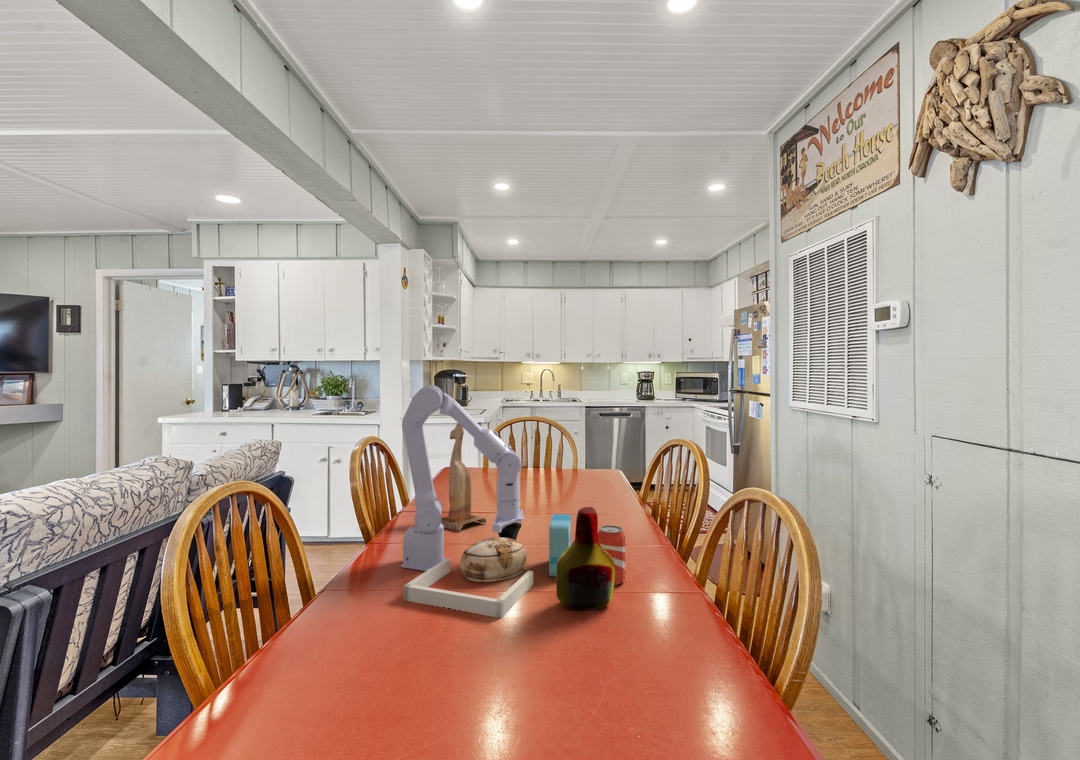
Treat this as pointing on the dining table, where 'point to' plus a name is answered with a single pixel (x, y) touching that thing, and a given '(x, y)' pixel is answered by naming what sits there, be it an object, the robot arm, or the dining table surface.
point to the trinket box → (493, 560)
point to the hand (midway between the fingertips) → (508, 552)
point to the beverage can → (614, 548)
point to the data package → (558, 539)
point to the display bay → (460, 601)
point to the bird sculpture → (459, 488)
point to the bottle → (585, 567)
